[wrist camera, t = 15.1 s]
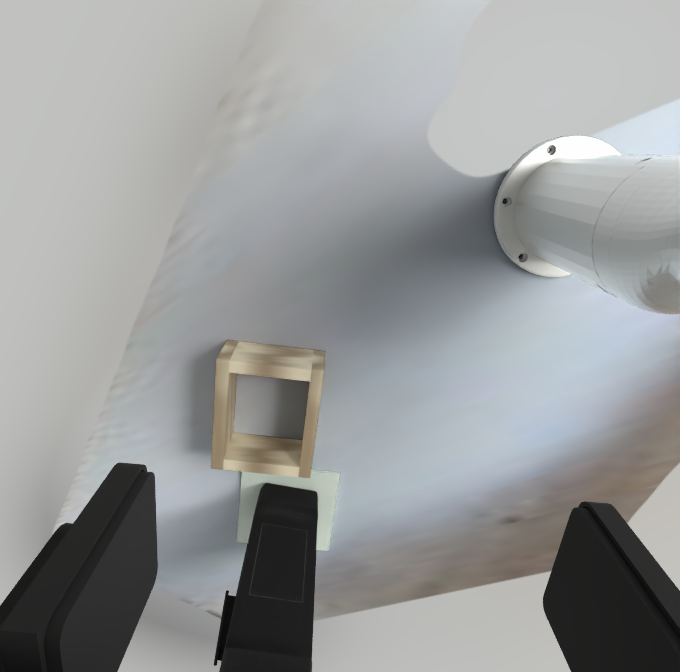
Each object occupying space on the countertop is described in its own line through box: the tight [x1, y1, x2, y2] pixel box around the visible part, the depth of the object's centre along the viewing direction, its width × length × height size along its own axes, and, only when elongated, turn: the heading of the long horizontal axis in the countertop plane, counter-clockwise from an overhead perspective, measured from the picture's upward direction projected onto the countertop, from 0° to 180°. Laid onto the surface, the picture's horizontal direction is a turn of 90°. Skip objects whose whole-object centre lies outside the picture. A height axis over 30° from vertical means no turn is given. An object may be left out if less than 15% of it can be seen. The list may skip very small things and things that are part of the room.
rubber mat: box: [237, 470, 340, 551], centre depth 57 cm, size 11×11×1 cm
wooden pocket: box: [211, 340, 325, 478], centre depth 50 cm, size 10×12×5 cm
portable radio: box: [214, 483, 318, 672], centre depth 45 cm, size 8×6×25 cm
